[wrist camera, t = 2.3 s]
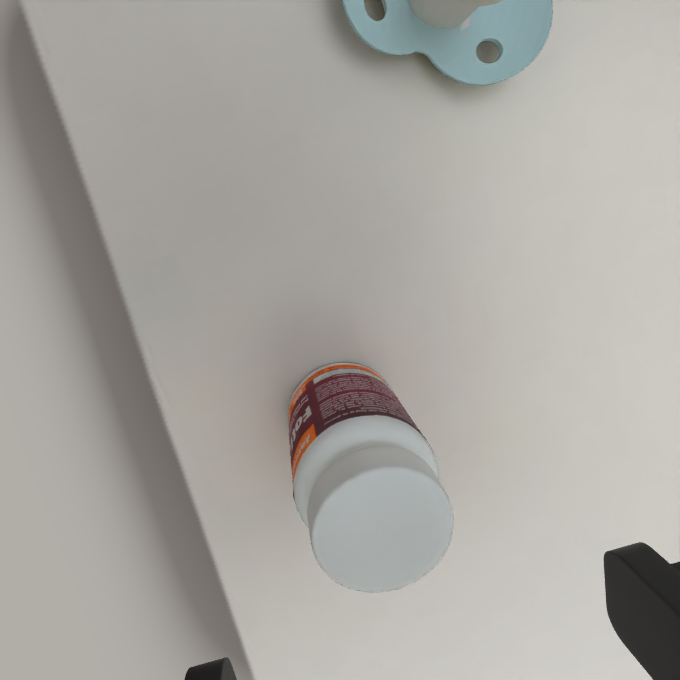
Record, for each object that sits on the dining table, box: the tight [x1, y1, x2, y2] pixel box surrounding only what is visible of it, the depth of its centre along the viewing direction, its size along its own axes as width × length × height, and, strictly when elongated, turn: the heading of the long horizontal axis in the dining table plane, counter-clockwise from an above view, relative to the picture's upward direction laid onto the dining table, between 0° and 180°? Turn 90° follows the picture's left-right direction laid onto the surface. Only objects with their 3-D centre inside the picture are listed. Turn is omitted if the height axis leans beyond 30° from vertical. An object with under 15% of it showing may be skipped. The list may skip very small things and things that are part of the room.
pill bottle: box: [288, 362, 454, 592], centre depth 17 cm, size 5×5×8 cm
